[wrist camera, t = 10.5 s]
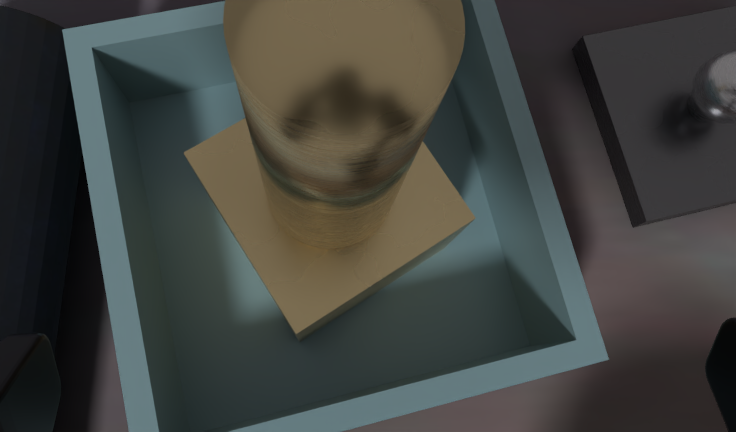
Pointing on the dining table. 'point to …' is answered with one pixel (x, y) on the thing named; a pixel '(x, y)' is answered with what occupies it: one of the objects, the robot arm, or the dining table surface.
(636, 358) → the dining table surface
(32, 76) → the pipe connector
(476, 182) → the bin
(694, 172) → the plate
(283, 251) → the gold trophy
